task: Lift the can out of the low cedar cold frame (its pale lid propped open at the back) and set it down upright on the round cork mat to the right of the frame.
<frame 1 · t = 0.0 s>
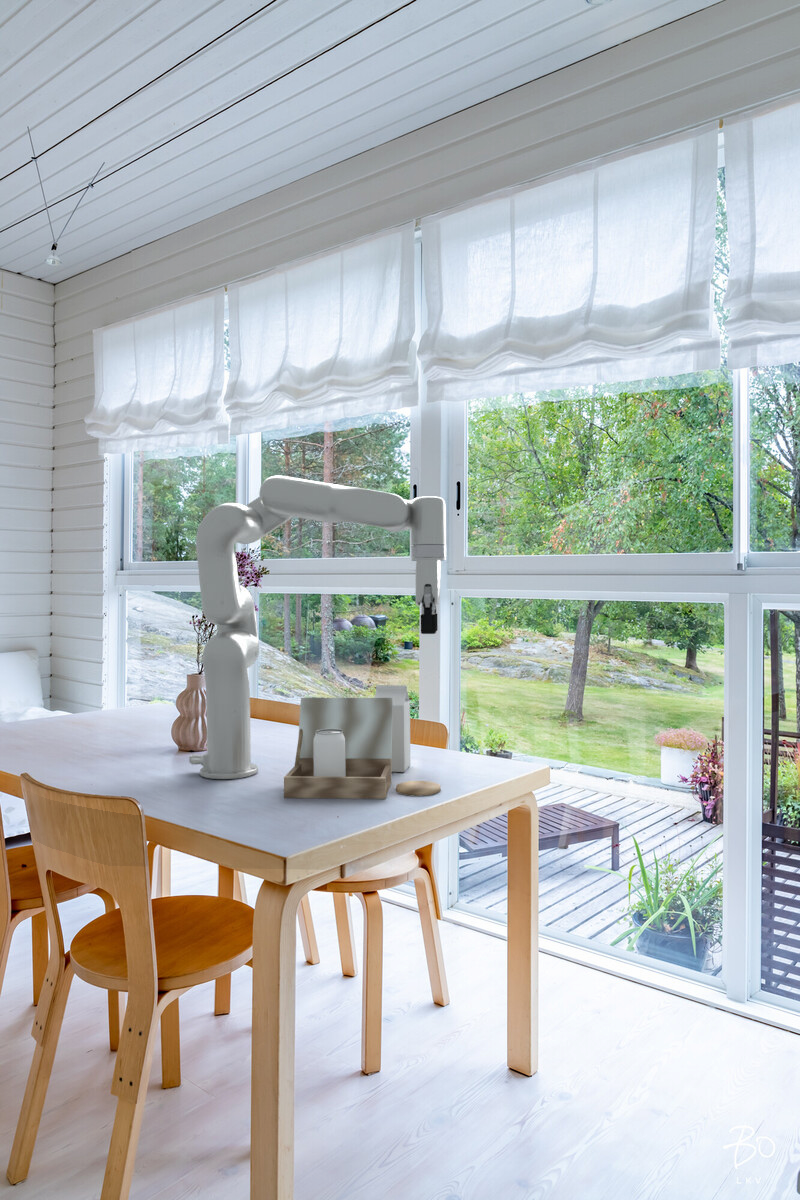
hand: (429, 632, 174), 31 cm above the table, tool pointing down, fingers open, 9 cm apart
can: (329, 790, 162), resting in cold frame
milk carton: (392, 769, 181), on the table
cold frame: (339, 789, 162), on the table
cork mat: (418, 790, 162), on the table
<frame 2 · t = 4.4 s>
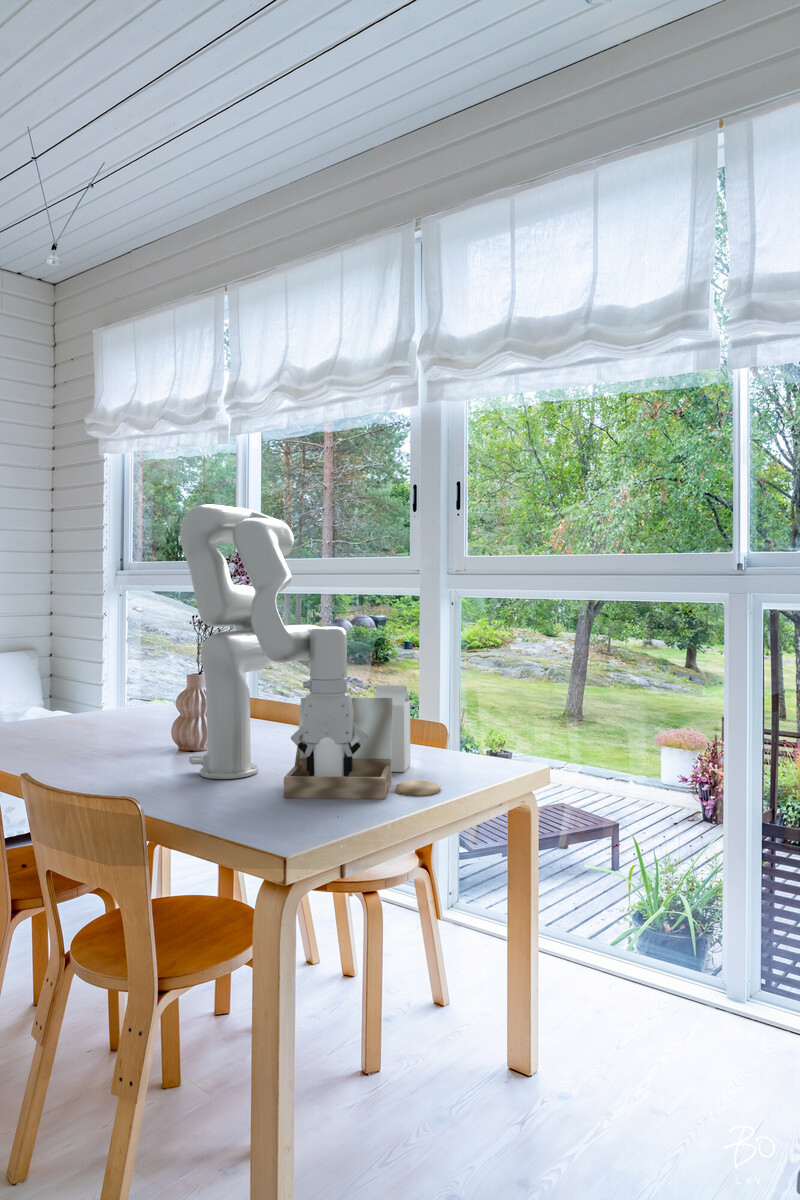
hand: (329, 774, 162), 3 cm above the table, tool pointing down, fingers closed on can, 6 cm apart
can: (330, 790, 163), resting in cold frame, touching gripper
everything else where it was.
when the fingers open (5 cm above the table, at t = 10.9 s): can stays where it is, resting on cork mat.
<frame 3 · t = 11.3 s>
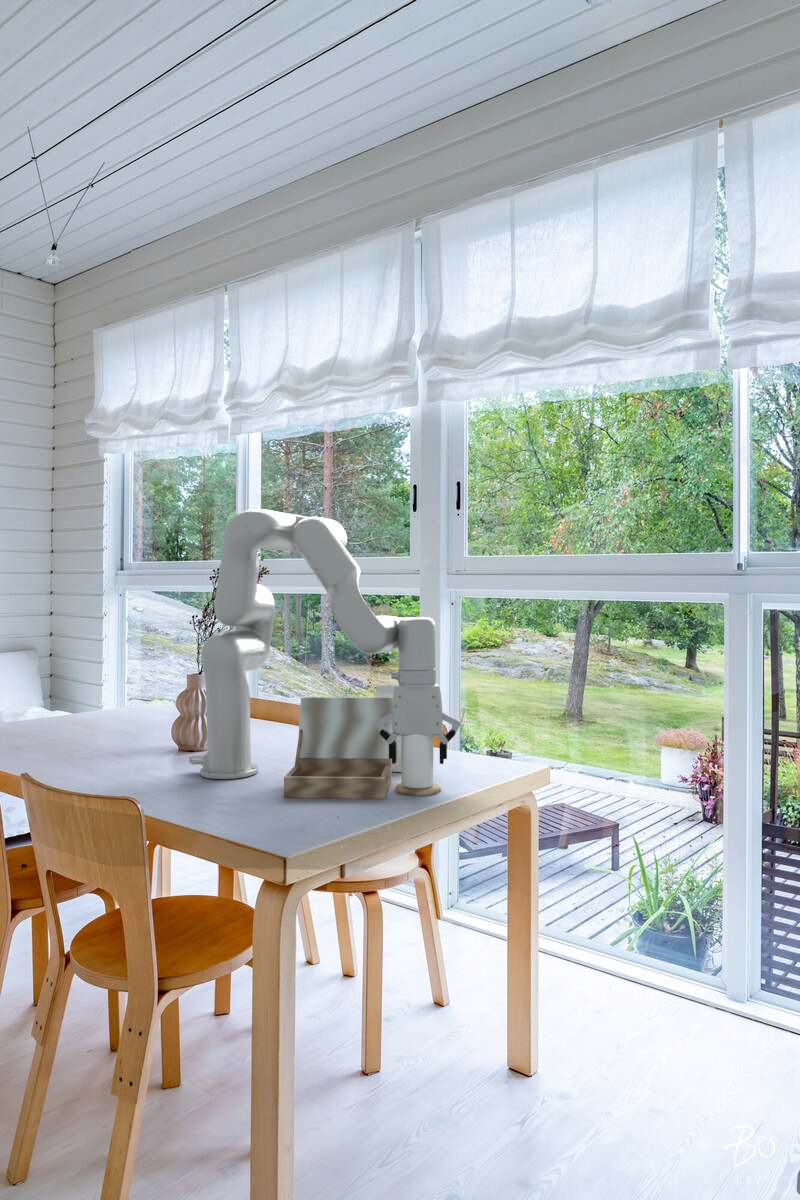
hand: (417, 762, 161), 6 cm above the table, tool pointing down, fingers open, 9 cm apart
can: (417, 786, 162), point 1 cm above the table, touching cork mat
everything else where it was.
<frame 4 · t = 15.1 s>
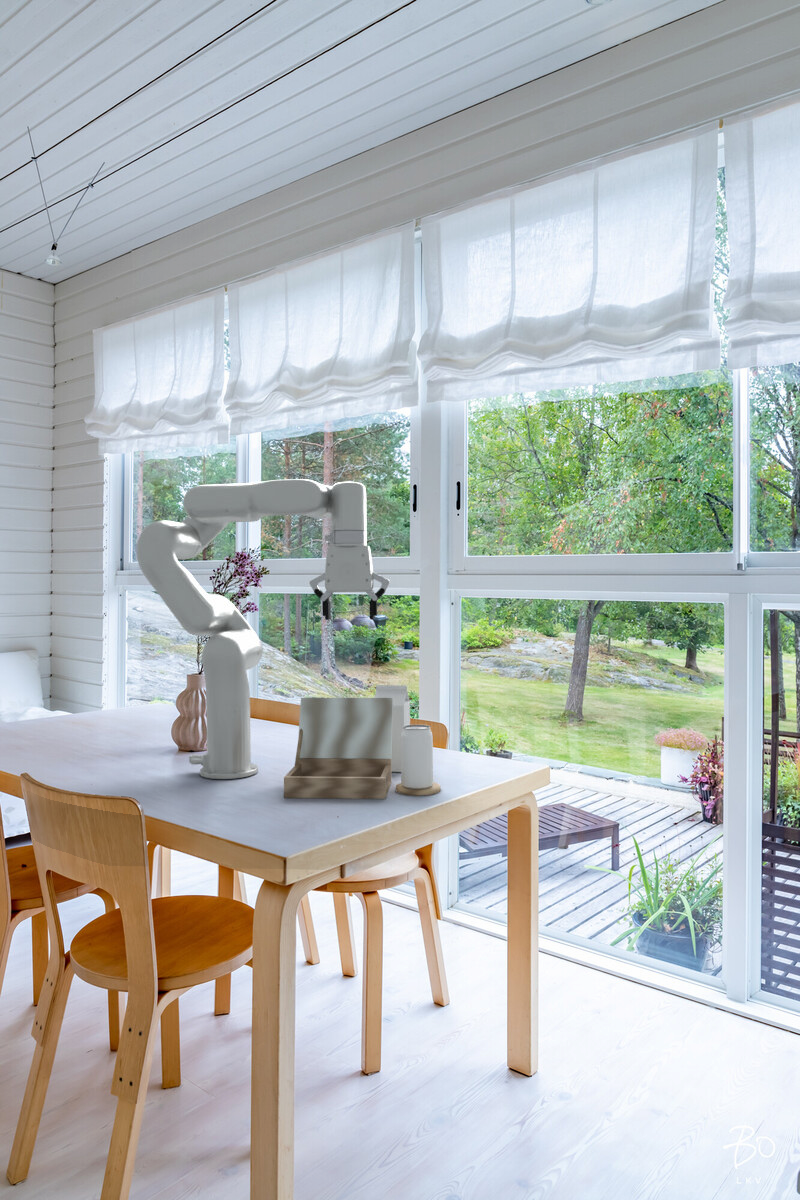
hand: (350, 619, 172), 34 cm above the table, tool pointing down, fingers open, 9 cm apart
nothing on the table moved.
at the end: can 0.2 cm from the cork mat (horizontally); can tilted 0°; can point 0.6 cm above the table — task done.
